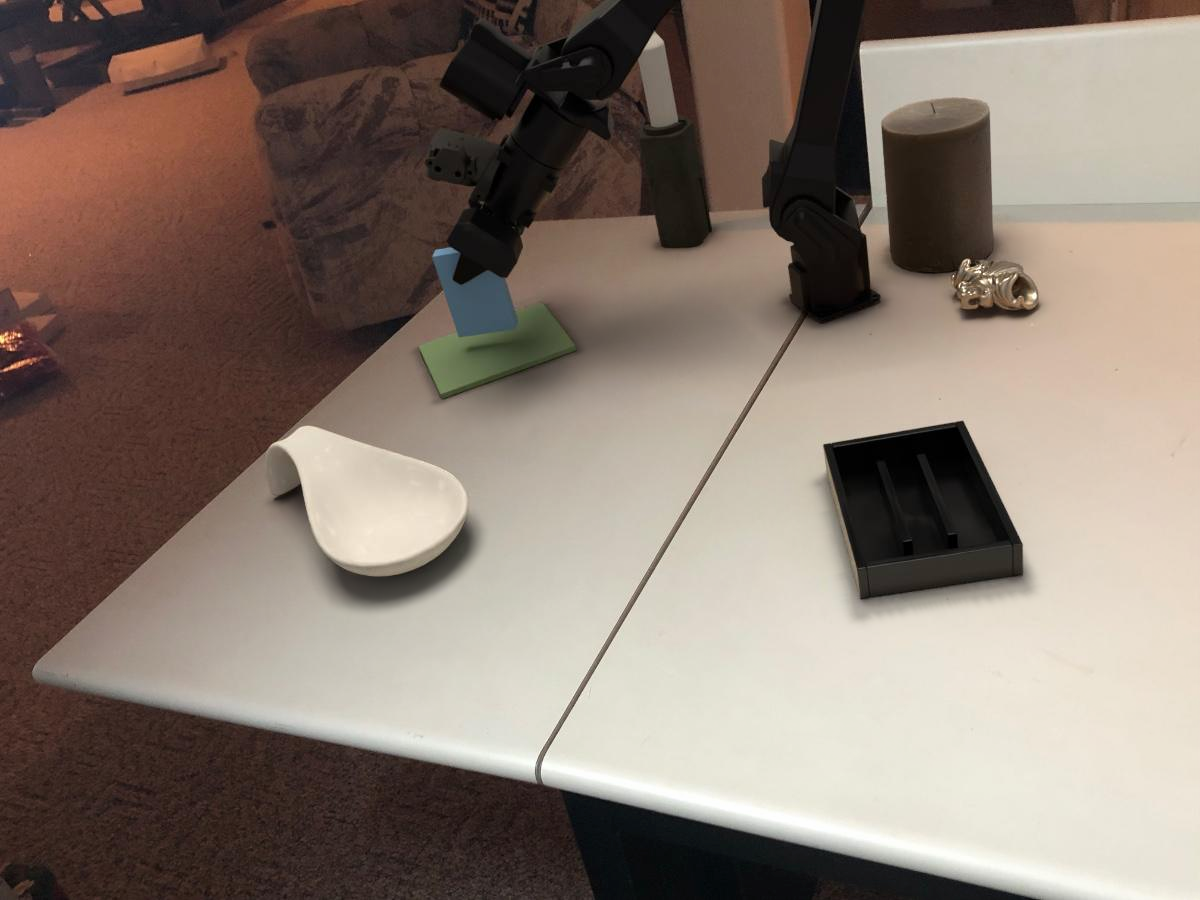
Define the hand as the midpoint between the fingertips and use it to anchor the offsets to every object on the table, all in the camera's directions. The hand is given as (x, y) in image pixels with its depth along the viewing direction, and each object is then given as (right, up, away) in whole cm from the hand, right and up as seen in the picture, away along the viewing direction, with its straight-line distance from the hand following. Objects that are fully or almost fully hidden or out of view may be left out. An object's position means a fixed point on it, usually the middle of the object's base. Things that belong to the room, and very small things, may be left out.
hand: (459, 277), depth 106 cm
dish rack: (+35, -22, -32) cm, 53 cm away
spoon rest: (-6, -23, -17) cm, 29 cm away
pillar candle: (+48, +3, +1) cm, 48 cm away
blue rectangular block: (+3, -5, +3) cm, 6 cm away
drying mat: (+3, -7, +4) cm, 9 cm away
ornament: (+49, -4, -9) cm, 50 cm away
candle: (+24, +7, +17) cm, 30 cm away
